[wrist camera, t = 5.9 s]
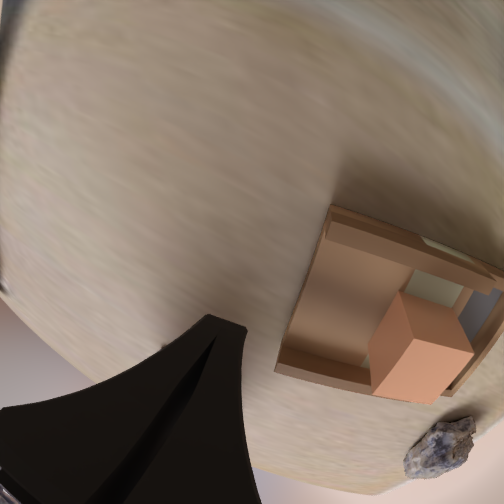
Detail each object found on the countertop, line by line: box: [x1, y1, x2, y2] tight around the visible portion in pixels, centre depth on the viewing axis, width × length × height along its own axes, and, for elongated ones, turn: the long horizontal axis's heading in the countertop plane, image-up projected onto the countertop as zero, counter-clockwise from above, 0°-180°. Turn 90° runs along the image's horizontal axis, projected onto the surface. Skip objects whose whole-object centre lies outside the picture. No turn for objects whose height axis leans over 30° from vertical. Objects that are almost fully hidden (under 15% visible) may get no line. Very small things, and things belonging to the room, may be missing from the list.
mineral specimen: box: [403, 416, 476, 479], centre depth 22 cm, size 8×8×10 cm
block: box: [368, 291, 475, 405], centre depth 15 cm, size 4×4×4 cm
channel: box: [274, 204, 504, 402], centre depth 17 cm, size 11×16×3 cm
